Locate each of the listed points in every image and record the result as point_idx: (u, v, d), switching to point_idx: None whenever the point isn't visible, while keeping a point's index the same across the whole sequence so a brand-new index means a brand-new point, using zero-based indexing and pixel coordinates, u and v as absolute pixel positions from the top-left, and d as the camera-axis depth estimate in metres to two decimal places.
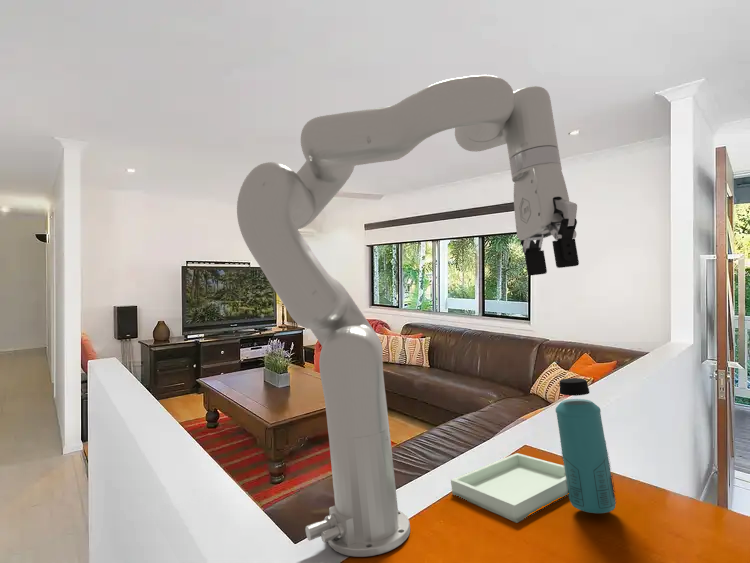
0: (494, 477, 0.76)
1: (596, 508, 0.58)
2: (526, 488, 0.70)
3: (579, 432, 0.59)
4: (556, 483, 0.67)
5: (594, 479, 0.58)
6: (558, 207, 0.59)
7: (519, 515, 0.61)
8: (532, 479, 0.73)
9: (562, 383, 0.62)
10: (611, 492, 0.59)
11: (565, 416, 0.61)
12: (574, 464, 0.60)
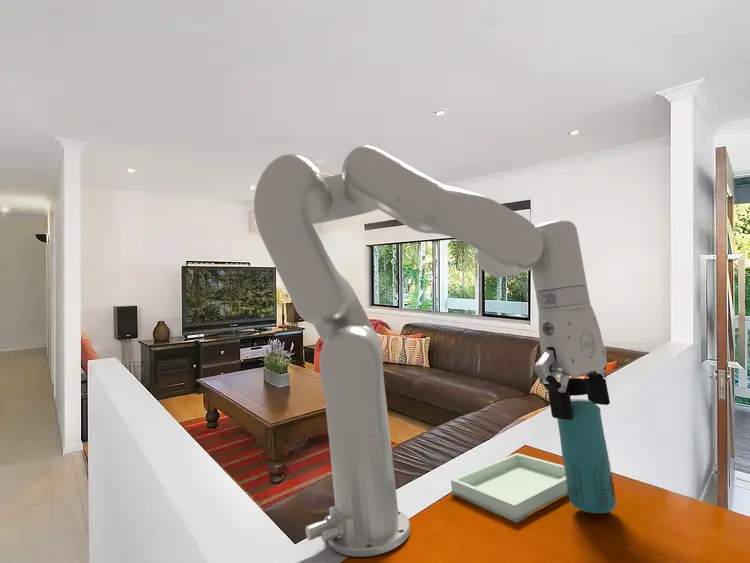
0: (494, 477, 0.76)
1: (596, 508, 0.58)
2: (526, 488, 0.70)
3: (579, 432, 0.59)
4: (556, 483, 0.67)
5: (594, 479, 0.58)
6: None
7: (519, 515, 0.61)
8: (532, 479, 0.73)
9: None
10: (611, 492, 0.59)
11: None
12: (574, 464, 0.60)
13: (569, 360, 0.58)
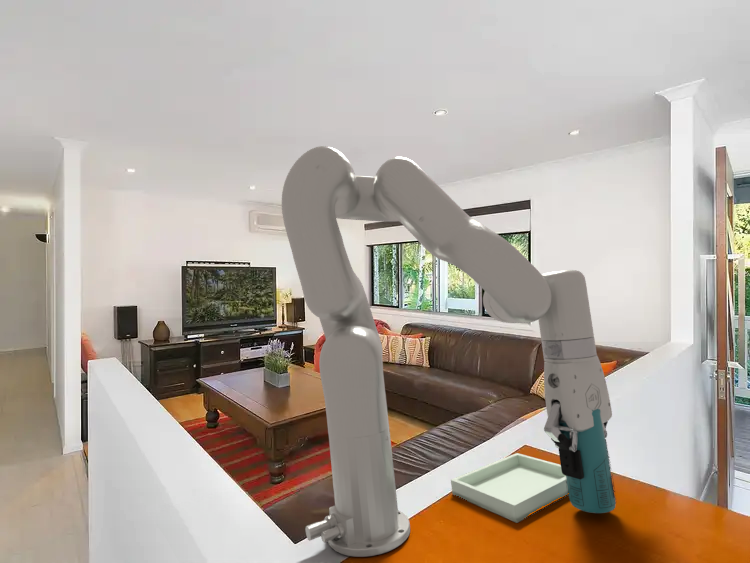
0: (494, 477, 0.76)
1: (596, 508, 0.58)
2: (526, 488, 0.70)
3: (579, 432, 0.59)
4: (556, 483, 0.67)
5: (594, 479, 0.58)
6: None
7: (519, 515, 0.61)
8: (532, 479, 0.73)
9: None
10: (611, 492, 0.59)
11: None
12: None
13: (574, 415, 0.58)
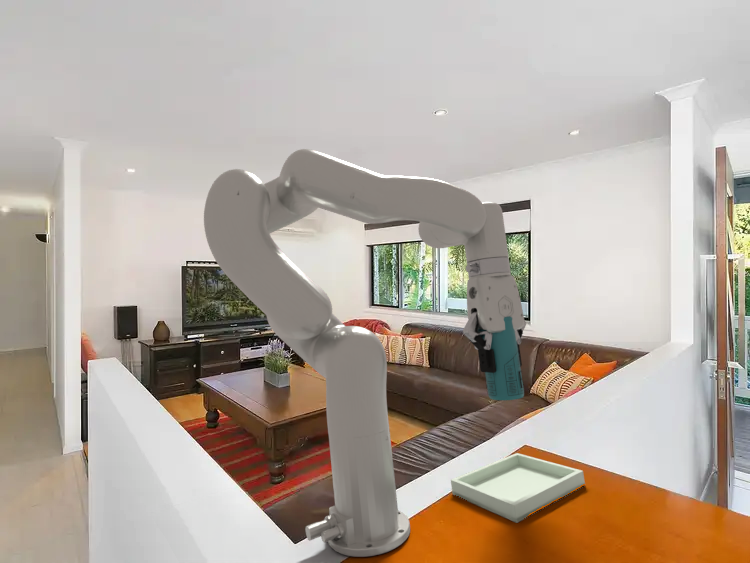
0: (494, 477, 0.76)
1: (506, 396, 0.70)
2: (526, 488, 0.70)
3: (493, 334, 0.71)
4: (556, 483, 0.67)
5: (505, 372, 0.70)
6: None
7: (519, 515, 0.61)
8: (532, 479, 0.73)
9: None
10: (519, 384, 0.70)
11: None
12: None
13: (487, 318, 0.69)
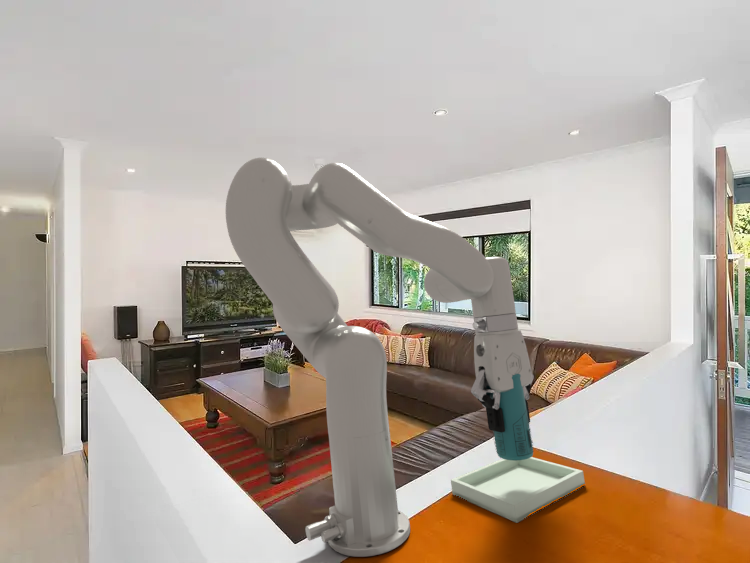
0: (494, 477, 0.76)
1: (515, 456, 0.69)
2: (526, 488, 0.70)
3: (501, 393, 0.70)
4: (556, 483, 0.67)
5: (514, 432, 0.69)
6: None
7: (519, 515, 0.61)
8: (532, 479, 0.73)
9: None
10: (528, 443, 0.70)
11: None
12: None
13: (495, 378, 0.68)
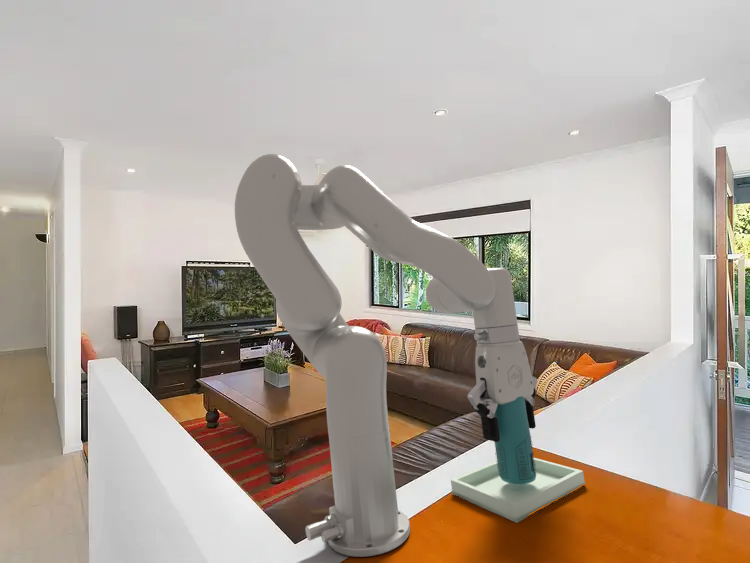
0: (494, 477, 0.76)
1: (517, 480, 0.69)
2: (526, 488, 0.70)
3: (504, 415, 0.70)
4: (556, 483, 0.67)
5: (516, 455, 0.69)
6: None
7: (519, 515, 0.61)
8: None
9: None
10: (531, 466, 0.69)
11: None
12: (501, 443, 0.70)
13: (496, 390, 0.68)
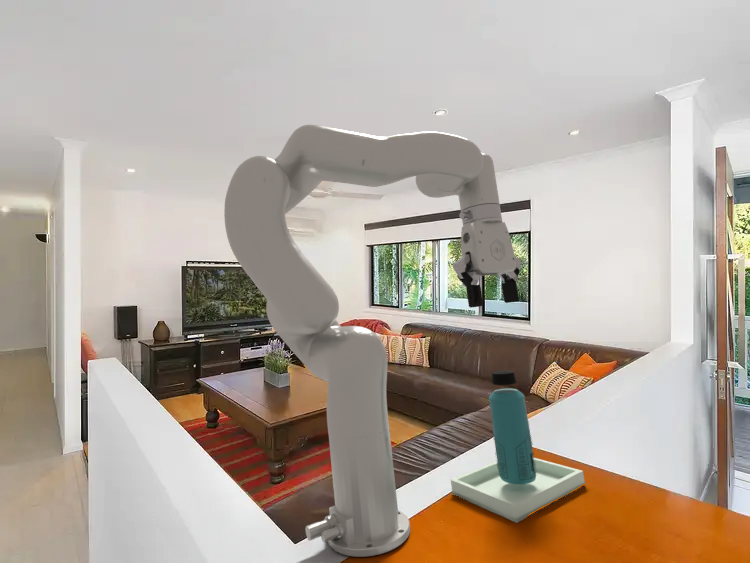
0: (494, 477, 0.76)
1: (517, 480, 0.69)
2: (526, 488, 0.70)
3: (504, 416, 0.70)
4: (556, 483, 0.67)
5: (516, 456, 0.69)
6: None
7: (519, 515, 0.61)
8: None
9: (493, 374, 0.73)
10: (531, 467, 0.69)
11: (494, 402, 0.71)
12: (501, 443, 0.70)
13: (479, 259, 0.75)
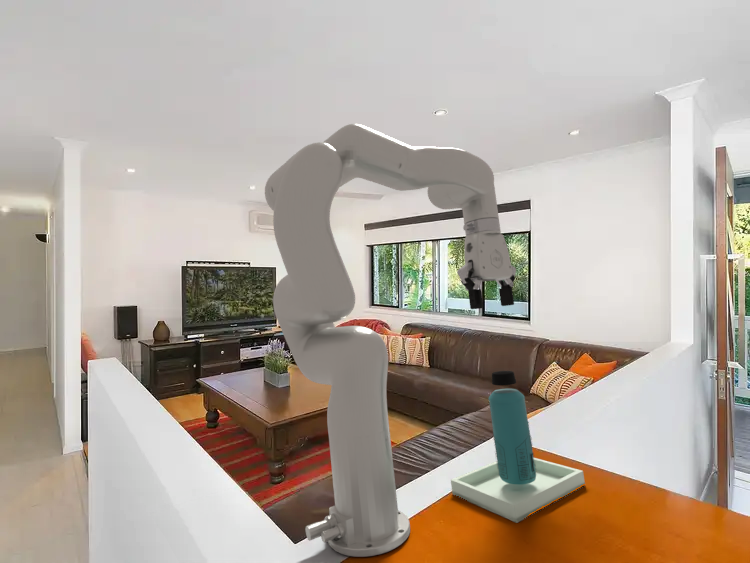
0: (494, 477, 0.76)
1: (517, 480, 0.69)
2: (526, 488, 0.70)
3: (504, 416, 0.70)
4: (556, 483, 0.67)
5: (516, 456, 0.69)
6: None
7: (519, 515, 0.61)
8: None
9: (493, 375, 0.73)
10: (531, 467, 0.69)
11: (494, 403, 0.71)
12: (501, 443, 0.70)
13: (481, 267, 0.85)
